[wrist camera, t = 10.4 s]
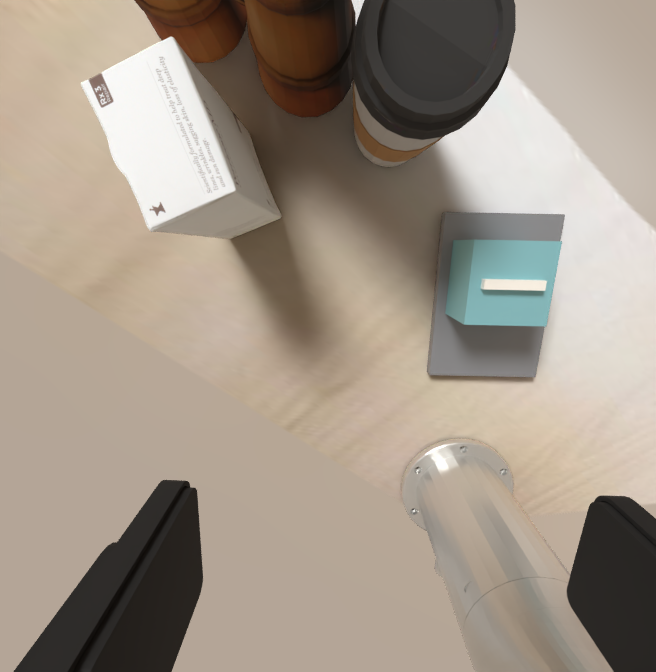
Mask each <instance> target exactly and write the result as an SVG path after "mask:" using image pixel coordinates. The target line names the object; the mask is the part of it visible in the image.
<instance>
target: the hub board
mask: <svg viewBox="0 0 656 672" xmlns="http://www.w3.org/2000/svg"><path fill="white" fill-rule="evenodd" d="M564 217H565V215H561V214H511V213H461V212H445V213H442V221H441V231H440V241H439V252H438V262H437V272H436V282H435V293H434V303H433V313H432V323H431V334H430V344H429V354H428V365H427V372H428V374H429V375H454V376H502V377H535V376H536V371H537V365H538V360H539V354H540V349H541V343H542V338H543V332H544V327H545V326H501V325H464V324H462V323H460V322H459V321H457V320H455V319H454V318H452V317H450V316H449V315H447V314H445V312H446V303H447V293H448V284H449V275H450V266H451V256H452V247H453V240H520V241H560V239H561V233H562V228H563V222H564Z"/></svg>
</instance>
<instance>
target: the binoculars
mask: <svg viewBox="0 0 656 672" xmlns="http://www.w3.org/2000/svg"><path fill="white" fill-rule="evenodd" d="M135 1H136V3H137V4H138V5H139V6H140V8H141V9H142V10H143V11H144V12H145V14H146V15H147V17H148V19H149V20H150V22H151V24H152V26H153V27H154V29H155V31H156V32H157V34H158V35H159V37H160V38H161V39H162V40H165V39H167V38H169V37H174V39H175V40H176V41H177V43H178V44H179V45H180V47H181V48H182V49H183V51H184V52H185V53H186V54H187V56H188V57H189V58H190V59H191V61H193V62H196V63H204V62H214V61H216V60H218V59H221V58H223V57H226V56H227V55H228V54H229V53H230V52H231V51H232V50H233V49H234V48H235V47H236V46H237V45H238V43H239V41H240V39H241V37H242V35H243V33H244V31H245V27H246V22H247V25H248V37H249V40H250V42H251V45H252V48H253V51H254V53H255V56H256V59H257V62H258V68H259V74H260V77H261V79H262V82H263V85H264V88H265V90H266V91H267V93H268V94H269V96H270V97H271V98H272V100H273V101H274V102H275V103H276V104H277V105H278V106H280V107H281V108H282V109H284V110H285V111H286V112H288V113H291V114H294V115H297V116H300V117H317V116H319V115H322V114H324V113H327V112H329V111H331V110H332V109H333V108H335V107H336V106H337V105H338V104H339V103H340V102H341V101H342V100H343V99H344V97H345V95H346V94H347V92H348V90H349V89H350V87H351V83H352V79H353V72H352V63H351V50H352V42H353V33H354V30H355V27H356V25H355V11H354V7H353V4H352V1H351V0H135Z"/></svg>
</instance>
